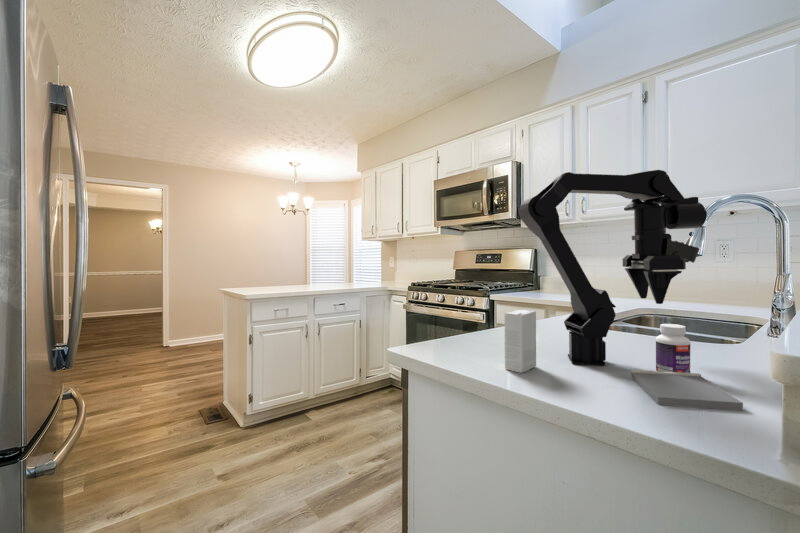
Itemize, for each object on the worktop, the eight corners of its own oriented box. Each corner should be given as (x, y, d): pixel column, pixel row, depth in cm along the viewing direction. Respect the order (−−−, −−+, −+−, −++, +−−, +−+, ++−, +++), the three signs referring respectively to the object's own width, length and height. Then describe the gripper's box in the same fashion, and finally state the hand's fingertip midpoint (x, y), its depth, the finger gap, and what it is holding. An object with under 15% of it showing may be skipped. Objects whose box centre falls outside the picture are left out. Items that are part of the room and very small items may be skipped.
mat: (658, 404, 58) (658, 395, 58) (631, 377, 71) (631, 369, 71) (742, 410, 55) (742, 400, 55) (698, 381, 68) (698, 373, 68)
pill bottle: (681, 382, 68) (680, 329, 68) (650, 374, 73) (649, 324, 72) (696, 376, 70) (696, 326, 70) (665, 369, 75) (665, 321, 75)
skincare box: (518, 363, 82) (517, 308, 82) (537, 367, 79) (537, 310, 78) (503, 369, 78) (502, 312, 77) (523, 374, 75) (522, 314, 74)
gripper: (717, 225, 70) (718, 307, 70) (674, 230, 88) (674, 295, 88) (649, 228, 73) (651, 307, 74) (621, 232, 91) (622, 296, 91)
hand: (651, 300), depth 82 cm, fingers open, 9 cm apart
